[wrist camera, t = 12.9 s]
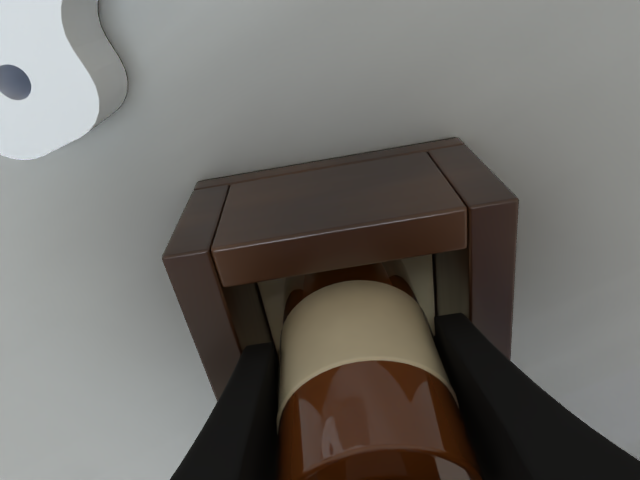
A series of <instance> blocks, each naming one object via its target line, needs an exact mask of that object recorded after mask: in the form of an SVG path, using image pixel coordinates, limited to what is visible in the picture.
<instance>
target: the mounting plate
mask: <svg viewBox="0 0 640 480" xmlns="http://www.w3.org/2000/svg"><path fill="white" fill-rule="evenodd" d="M127 84H128V80H127V76H126V72H125V69H124V66H123V64H122V62H121V60H120V58H119V57H118V55H117V54H116V52H115V50H114V49H113V47H112V46H111V44H110V43H109V41H108V39H107V38H106V36H105V34H104V32H103V30H102V28H101V25H100V21H99V17H98V0H0V154H1V155H3V156H5V157H8V158H13V159H18V160H33V159H36V158H39V157H42V156H44V155H46V154H48V153H50V152H52V151H54V150H56V149H58V148H60V147H62V146H64V145H66V144H68V143H70V142H72V141H74V140H76V139H78V138H80V137H82V136H83V135H85V134H86V133H87V132H89V131H90V130H91V129H93V128H94V127H95V126H97V125H98V124H99V123H101V122H102V121H103V120H104V119H106V118H107V117H108V116H110V115H111V114H112V113H114V112H115V111H116V110H118V109H119V107H120V106H121V105H122V103H123V102H124V100H125V97H126V94H127Z"/></svg>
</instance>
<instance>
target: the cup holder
mask: <svg viewBox="0 0 640 480" xmlns="http://www.w3.org/2000/svg"><path fill="white" fill-rule="evenodd" d="M518 204H519V200H518V198H517V197H516V196H515V195H514V194H513V193H512V192H511V191H510V190H509V189H508V188H507V187H506V186H505V184H504V183H503V182H502V181H501V180H500V179H499V178H498V177H497V176H496V175H495V174H494V173H493V172H492V171H491V170H490V169H489V168H488V167H487V166H486V165H485V164H484V163H483V162H482V161H481V160H480V159H479V158H478V157H477V156H476V155H475V154H474V153H473V152H472V151H471V150H470V149H469V148H468V147H467V146H466V145H464V143H463V142H462V141H461V140H460V139H459V138H452V139H446V140H440V141H434V142H428V143H422V144H417V145H411V146H405V147H399V148H393V149H387V150H381V151H376V152H370V153H364V154H358V155H352V156H346V157H340V158H335V159H329V160H323V161H317V162H311V163H305V164H299V165H293V166H288V167H282V168H276V169H270V170H264V171H258V172H252V173H247V174H241V175H235V176H229V177H223V178H217V179H211V180H206V181H200V182H197V184H196V186H195V188H194V191H193V192H192V194H191V196H190V198H189V200H188V203H187V205H186V207H185V209H184V211H183V213H182V215H181V217H180V219H179V222H178V224H177V226H176V228H175V230H174V232H173V234H172V236H171V239H170V241H169V243H168V245H167V247H166V249H165V251H164V253H163V255H162V260H163V263H164V266H165V268H166V271H167V273H168V276H169V278H170V281H171V284H172V286H173V289H174V291H175V294H176V296H177V299H178V302H179V304H180V307H181V309H182V312H183V314H184V317H185V320H186V322H187V325H188V327H189V330H190V332H191V335H192V338H193V340H194V343H195V345H196V348H197V350H198V353H199V356H200V358H201V361H202V363H203V366H204V368H205V371H206V374H207V376H208V379H209V381H210V384H211V386H212V389H213V392H214V394H215V397H216V399H217V402H218V400H219V398H220V396H221V395H222V393H223V391H224V389H225V387H226V385H227V383H228V381H229V379H230V377H231V375H232V373H233V371H234V369H235V367H236V365H237V363H238V360H239V358H240V356H241V354H242V352H243V350H244V349H245V347H246V346H249V345H255V344H261V343H268V342H273V346H274V349H275V353H276V357H277V360H278V364H279V342H280V334H281V330H282V318H283V292H284V283H285V280H286V278H287V277H293V276H299V275H306V274H312V273H318V272H324V271H330V270H337V269H343V268H349V267H355V266H362V265H368V264H374V263H380V262H386V261H393V260H399V259H401V261H402V262H403V264H404V265H405V267H406V269H407V272H408V275H409V277H410V280H411V283H412V285H413V288H414V291H415V293H416V296H417V299H418V301H419V304H420V307H421V308H422V309H423V311H424V313H425V315H426V317H427V319H428V322H429V325H430V327H431V330H432V332H433V335H434V338H435V324H434V317H435V316H441V315H448V314H454V313H462V314H464V315H465V316H466V317H467V318H468V319H469V320H470V321H471V322H472V323H473V324H474V325H475V326H476V328H477V329H478V330H479V331H480V332H481V333H482V334H483V335H484V336H485V337H486V338H487V339H488V340H489V341H490V342H491V343H492V344H493V345H494V346H495V347H496V348H497V349H498V350H499V351H500V352H501V353H502V354H504V355H505V356H506V357H507V358H508V359H509V360H510V358H511V339H512V320H513V300H514V281H515V262H516V243H517V223H518Z"/></svg>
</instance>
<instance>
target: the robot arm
mask: <svg viewBox="0 0 640 480" xmlns="http://www.w3.org/2000/svg"><path fill="white" fill-rule="evenodd" d="M434 324H435V340H436V343H437V346H438V348H439V351H440V353H441V356H442V359H443V361H444V364H445V367H446V369H447V372H448V375H449V377H450V380H451V382H452V385H453V388H454V390H455V393H456V396H457V399H458V402H459V409H460V414H461V416H462V419H463V422H464V424H465V427H466V430H467V432H468V435H469V438H470V440H471V443H472V446H473V448H474V451H475V454H476V456H477V459H478V462H479V464H480V467H481V470H482V472H483V475H484V478H485V480H640V461H639V460H637V459H636V458H634V457H633V456H631V455H630V454H628V453H627V452H625V451H624V450H622V449H621V448H619V447H618V446H616V445H615V444H613V443H612V442H610V441H609V440H608V439H606V438H605V437H603V436H602V435H601V434H599V433H598V432H596V431H595V430H594V429H592V428H591V427H589V426H588V425H587V424H585V423H584V422H583V421H581V420H580V419H579V418H577V417H576V416H575V415H574V414H572V413H571V412H570V411H568V410H567V409H566V408H565V407H563V406H562V405H561V404H560V403H558V402H557V401H556V400H555V399H554V398H552V397H551V396H550V395H549V394H547V393H546V392H545V391H544V390H543V389H541V388H540V387H539V386H538V385H537V384H536V383H534V382H533V381H532V380H531V379H530V378H529V377H528V376H527V375H525V374H524V373H523V372H522V371H521V370H520V369H519V368H518V367H517V366H515V365H514V364H513V363H512V362H511V361H510V360H509V359H508V358H507V357H506V356H505V355H504V354H502V353H501V352H500V351H499V350H498V349H497V348H496V347H495V346H494V345H493V344H492V343H491V342H490V341H489V340H488V339H487V338H486V337H485V336H484V335H483V334H482V333H481V332H480V331H479V330H478V329H477V328H476V326H475V325H474V324H473V323H472V322H471V321H470V320H469V319H468V318H467V317H466V316H465V315H464V314H462V313H454V314H448V315H441V316H435V317H434ZM278 365H279V364H278V360H277V357H276V353H275V349H274V346H273V342H268V343H261V344H255V345H249V346H246V347H245V349H244V350H243V352H242V354H241V356H240V358H239V360H238V363H237V365H236V367H235V369H234V371H233V373H232V375H231V377H230V379H229V381H228V383H227V385H226V387H225V389H224V391H223V393H222V395H221V396H220V398H219V400H218V402H217V404H216V406H215V407H214V409H213V411H212V413H211V415H210V416H209V418H208V420H207V422H206V424H205V425H204V427H203V429H202V430H201V432H200V434H199V435H198V437H197V438H196V440H195V442H194V443H193V445H192V447H191V448H190V450H189V451H188V453H187V455H186V456H185V458H184V459H183V461H182V462H181V464H180V466H179V467H178V469H177V470H176V471H175V473H174V474H173V476H172V477H171V479H170V480H276V476H277V450H278V436H277V431H276V411H277V388H278Z"/></svg>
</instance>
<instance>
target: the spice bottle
mask: <svg viewBox="0 0 640 480" xmlns="http://www.w3.org/2000/svg"><path fill="white" fill-rule="evenodd" d="M276 431H277V436H278V450H277V476H276V480H485V478H484V475H483V472H482V470H481V467H480V464H479V462H478V459H477V456H476V454H475V451H474V448H473V446H472V443H471V440H470V438H469V435H468V432H467V430H466V427H465V424H464V422H463V419H462V416H461V414H460V409H459V402H458V399H457V396H456V393H455V390H454V388H453V385H452V382H451V380H450V377H449V375H448V372H447V369H446V367H445V364H444V361H443V359H442V356H441V353H440V351H439V348H438V346H437V343H436V340H435V338H434V335H433V332H432V330H431V327H430V325H429V322H428V319H427V317H426V315H425V313H424V311H423V309H422V308H421V307H420V304H419V301H418V299H417V296H416V293H415V291H414V288H413V285H412V283H411V280H410V277H409V275H408V272H407V269H406V267H405V265H404V264H403V262H402V261H401V259H399V260H393V261H386V262H380V263H374V264H368V265H362V266H355V267H349V268H343V269H337V270H330V271H324V272H318V273H312V274H306V275H299V276H293V277H287V278H286V280H285V283H284V292H283V318H282V330H281V334H280V342H279V365H278V388H277V411H276Z"/></svg>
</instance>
